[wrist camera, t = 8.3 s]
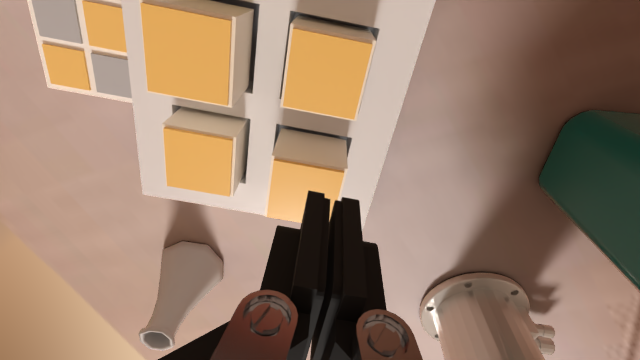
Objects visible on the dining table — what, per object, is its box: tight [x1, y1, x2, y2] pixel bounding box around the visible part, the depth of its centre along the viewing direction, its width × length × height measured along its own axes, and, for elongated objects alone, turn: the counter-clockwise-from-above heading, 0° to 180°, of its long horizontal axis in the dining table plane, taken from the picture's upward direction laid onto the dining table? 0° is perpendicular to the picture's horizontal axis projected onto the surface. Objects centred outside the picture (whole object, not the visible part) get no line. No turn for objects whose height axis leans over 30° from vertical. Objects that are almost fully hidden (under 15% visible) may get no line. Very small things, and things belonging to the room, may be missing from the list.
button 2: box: [264, 128, 348, 223], centre depth 26 cm, size 5×5×5 cm
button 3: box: [139, 0, 254, 108], centre depth 22 cm, size 5×5×5 cm
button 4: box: [162, 106, 250, 197], centre depth 27 cm, size 5×5×5 cm
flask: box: [139, 241, 223, 351], centre depth 36 cm, size 7×7×10 cm
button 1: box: [280, 15, 376, 121], centre depth 23 cm, size 5×5×5 cm
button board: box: [121, 0, 436, 230], centre depth 27 cm, size 20×20×4 cm
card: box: [27, 0, 132, 103], centre depth 27 cm, size 8×8×1 cm
